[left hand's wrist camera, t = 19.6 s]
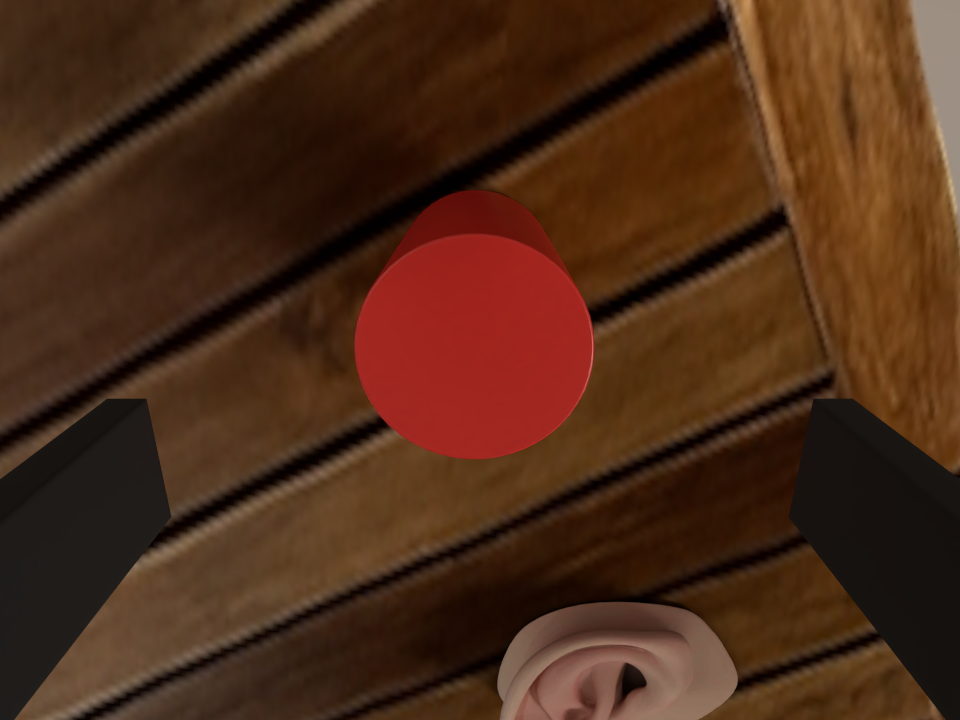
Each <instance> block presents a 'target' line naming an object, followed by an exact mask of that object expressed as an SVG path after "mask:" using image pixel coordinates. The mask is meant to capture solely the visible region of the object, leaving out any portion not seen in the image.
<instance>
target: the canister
mask: <svg viewBox="0 0 960 720" xmlns="http://www.w3.org/2000/svg"><path fill="white" fill-rule="evenodd" d="M354 353H355V363H356V367H357V372H358V376H359V379H360V381H361V384H362V387H363V389H364V391H365V393H366V395H367V397H368V399H369V401H370V403H371V404H372V405H373V407H374V408H375V410H376V411H377V412H378V414H379V415H380V416H381V417H382V418H383V419H384V421H385V422H386V423H387V424H388V425H389V426H390V427H391V428H393V429H394V430H395V431H396V432H397V433H399V434H400V435H401V436H403V437H404V438H406V439H407V440H409V441H410V442H412V443H414V444H416V445H418V446H420V447H422V448H424V449H426V450H429V451H432V452H435V453H437V454H441V455H445V456H450V457H455V458H464V459H486V458H494V457H500V456H504V455H508V454H512V453H515V452H517V451H520V450H523V449H525V448H527V447H529V446H531V445H533V444H535V443H537V442H539V441H540V440H542V439H543V438H545V437H546V436H548V435H549V434H551V433H552V432H553V431H554V430H555V429H556V428H557V427H559V426H560V425H561V424H562V423H563V422H564V420H565V419H566V418H567V417H568V416H569V415H570V414H571V412H572V411H573V410H574V408H575V407H576V405H577V404H578V402H579V401H580V399H581V397H582V395H583V393H584V391H585V389H586V386H587V384H588V381H589V378H590V375H591V370H592V366H593V361H594V332H593V327H592V322H591V318H590V314H589V312H588V309H587V306H586V304H585V301H584V299H583V297H582V296H581V294H580V292H579V290H578V288H577V286H576V285H575V283H574V281H573V280H572V278H571V276H570V274H569V273H568V271H567V269H566V268H565V266H564V264H563V262H562V261H561V259H560V257H559V256H558V254H557V252H556V250H555V249H554V247H553V245H552V244H551V242H550V240H549V238H548V237H547V235H546V233H545V232H544V230H543V228H542V226H541V225H540V223H539V222H538V221H537V219H536V218H535V217H534V216H533V215H532V214H531V213H530V212H529V211H528V210H527V209H526V208H525V207H524V206H522V205H521V204H520V203H518V202H516V201H515V200H513V199H511V198H509V197H507V196H504V195H502V194H499V193H495V192H491V191H484V190H468V191H461V192H457V193H453V194H450V195H448V196H445V197H443V198H441V199H439V200H437V201H436V202H434V203H432V204H431V205H430V206H429V207H427V208H426V209H425V210H424V211H423V212H422V213H421V214H420V215H419V216H418V217H417V218H416V220H415V221H414V222H413V224H412V225H411V227H410V228H409V230H408V231H407V233H406V234H405V236H404V238H403V239H402V241H401V242H400V244H399V245H398V247H397V248H396V250H395V251H394V253H393V255H392V256H391V258H390V259H389V261H388V262H387V264H386V265H385V267H384V268H383V270H382V271H381V273H380V275H379V276H378V278H377V279H376V281H375V282H374V284H373V285H372V287H371V288H370V290H369V292H368V294H367V296H366V298H365V300H364V302H363V304H362V307H361V310H360V312H359V315H358V319H357V324H356V329H355V338H354Z"/></svg>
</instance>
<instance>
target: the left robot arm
mask: <svg viewBox="0 0 960 720" xmlns="http://www.w3.org/2000/svg"><path fill="white" fill-rule="evenodd" d="M170 518H171V514H170V509H169V504H168V499H167V495H166V490H165V485H164V480H163V476H162V471H161V466H160V461H159V457H158V452H157V447H156V442H155V438H154V433H153V428H152V423H151V419H150V414H149V409H148V404H147V400H146V399H106V400H105V401H104V402H102V403H101V404H100V405H98V406H97V407H96V408H94V409H93V410H92V411H91V412H89V413H88V414H87V415H85V416H84V417H83V418H81V419H80V420H79V421H77V422H76V423H75V424H73V425H72V426H71V427H69V428H68V429H67V430H65V431H64V432H63V433H61V434H60V435H59V436H57V437H56V438H55V439H53V440H52V441H51V442H49V443H48V444H47V445H45V446H44V447H43V448H41V449H40V450H39V451H37V452H36V453H35V454H33V455H32V456H31V457H29V458H28V459H27V460H25V461H24V462H23V463H21V464H20V465H19V466H17V467H16V468H15V469H13V470H12V471H11V472H9V473H8V474H7V475H5V476H4V477H3V478H2V479H0V720H14V719H15V718H16V717H17V715H18V714H19V713H20V711H21V710H22V709H23V708H24V706H25V705H26V704H27V702H28V701H29V700H30V699H31V697H32V696H33V695H34V693H35V692H36V691H37V690H38V688H39V687H40V686H41V684H42V683H43V682H44V680H45V679H46V678H47V677H48V675H49V674H50V673H51V671H52V670H53V669H54V668H55V666H56V665H57V664H58V662H59V661H60V660H61V659H62V657H63V656H64V655H65V653H66V652H67V651H68V650H69V648H70V647H71V646H72V644H73V643H74V642H75V640H76V639H77V638H78V637H79V635H80V634H81V633H82V631H83V630H84V629H85V628H86V626H87V625H88V624H89V622H90V621H91V620H92V619H93V617H94V616H95V615H96V613H97V612H98V611H99V610H100V608H101V607H102V606H103V604H104V603H105V602H106V600H107V599H108V598H109V597H110V595H111V594H112V593H113V591H114V590H115V589H116V588H117V586H118V585H119V584H120V582H121V581H122V580H123V579H124V577H125V576H126V575H127V573H128V572H129V571H130V569H131V568H132V567H133V566H134V564H135V563H136V562H137V560H138V559H139V558H140V557H141V555H142V554H143V553H144V551H145V550H146V549H147V548H148V546H149V545H150V544H151V542H152V541H153V540H154V539H155V537H156V536H157V535H158V533H159V532H160V531H161V529H162V528H163V527H164V526H165V524H166V523H167V522H168V520H169V519H170ZM789 518H790V519H791V520H792V522H793V523H794V524H795V526H796V527H797V528H798V529H799V531H800V532H801V533H802V535H803V536H804V537H805V539H806V540H807V541H808V542H809V544H810V545H811V546H812V548H813V549H814V550H815V551H816V553H817V554H818V555H819V557H820V558H821V559H822V560H823V562H824V563H825V564H826V566H827V567H828V568H829V569H830V571H831V572H832V573H833V575H834V576H835V577H836V579H837V580H838V581H839V582H840V584H841V585H842V586H843V588H844V589H845V590H846V591H847V593H848V594H849V595H850V597H851V598H852V599H853V600H854V602H855V603H856V604H857V606H858V607H859V608H860V610H861V611H862V612H863V613H864V615H865V616H866V617H867V619H868V620H869V621H870V622H871V624H872V625H873V626H874V628H875V629H876V630H877V631H878V633H879V634H880V635H881V637H882V638H883V639H884V640H885V642H886V643H887V644H888V646H889V647H890V648H891V650H892V651H893V652H894V653H895V655H896V656H897V657H898V659H899V660H900V661H901V662H902V664H903V665H904V666H905V668H906V669H907V670H908V671H909V673H910V674H911V675H912V677H913V678H914V679H915V681H916V682H917V683H918V684H919V686H920V687H921V688H922V690H923V691H924V692H925V693H926V695H927V696H928V697H929V699H930V700H931V701H932V702H933V704H934V705H935V706H936V708H937V709H938V710H939V711H940V713H941V714H942V715H943V717H944V718H945V719H946V720H960V479H958V478H957V477H956V476H955V475H953V474H952V473H951V472H949V471H948V470H947V469H945V468H944V467H943V466H941V465H940V464H939V463H937V462H936V461H935V460H933V459H932V458H931V457H929V456H928V455H927V454H925V453H924V452H923V451H921V450H920V449H919V448H917V447H916V446H915V445H913V444H912V443H911V442H909V441H908V440H907V439H905V438H904V437H903V436H901V435H900V434H899V433H897V432H896V431H895V430H893V429H892V428H891V427H889V426H888V425H887V424H885V423H884V422H883V421H881V420H880V419H879V418H877V417H876V416H875V415H873V414H872V413H871V412H869V411H868V410H867V409H866V408H864V407H863V406H862V405H860V404H859V403H858V402H856V401H855V400H854V399H814V400H813V404H812V409H811V414H810V419H809V423H808V428H807V433H806V438H805V442H804V447H803V452H802V457H801V461H800V466H799V471H798V476H797V480H796V485H795V490H794V495H793V499H792V504H791V509H790V514H789Z"/></svg>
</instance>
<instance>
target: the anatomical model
mask: <svg viewBox="0 0 960 720" xmlns="http://www.w3.org/2000/svg"><path fill="white" fill-rule="evenodd" d="M737 682H738V677H737V672H736V669H735V667H734V664H733V662H732V660H731V658H730V657H729V655H728V653H727V651H726V650H725V648H724V646H723V644H722V643H721V641H720V640H719V638H718V637H717V636H716V635H715V633H714V632H713V631H712V630H711V629H710V628H709V627H708V626H707V624H706V623H705V622H704V621H703V620H702V619H701V618H699V617H698V616H697V615H695V614H694V613H692V612H690V611H688V610H685V609H681V608H677V607H672V606H666V605H659V604H647V603H634V602H600V603H590V604H582V605H577V606H572V607H567V608H564V609H560V610H557V611H554V612H551V613H549V614H546V615H544V616H542V617H540V618H538V619H536V620H534V621H533V622H531V623H529V624H528V625H527V626H525V627H524V628H523V629H522V630H521V631H520V632H519V633H518V634H517V635H516V636H515V638H514V639H513V641H512V642H511V644H510V646H509V648H508V650H507V652H506V654H505V656H504V658H503V661H502V664H501V667H500V671H499V675H498V684H497V685H498V692H499V695H500V697H501V699H502V700H503V701H504V703H503V706H502V710H501V716H500V720H698V719H700V718H702V717H703V716H705V715H707V714H708V713H710V712H711V711H713V710H714V709H715V708H717V707H718V706H720V705H721V704H722V703H723V702H725V701H726V700H727V699H728V698H729V697H730V696H731V694H732V693H733V692H734V690H735V688H736V686H737Z"/></svg>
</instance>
